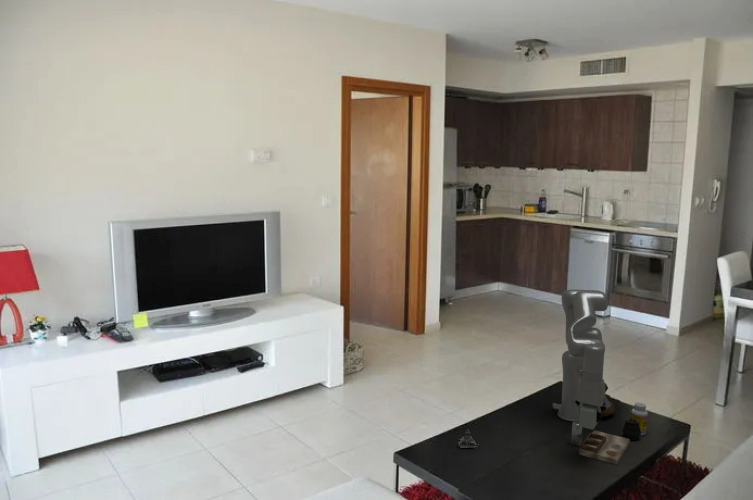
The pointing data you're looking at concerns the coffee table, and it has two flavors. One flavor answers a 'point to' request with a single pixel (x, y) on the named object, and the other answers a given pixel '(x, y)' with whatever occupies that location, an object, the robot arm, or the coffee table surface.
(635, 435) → the mate gourd
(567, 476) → the coffee table surface
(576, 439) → the peg
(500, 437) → the coffee table surface
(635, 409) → the supplement bottle
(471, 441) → the house of cards
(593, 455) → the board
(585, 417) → the housing
